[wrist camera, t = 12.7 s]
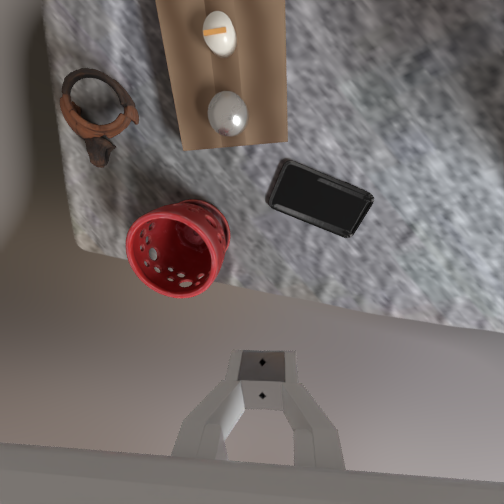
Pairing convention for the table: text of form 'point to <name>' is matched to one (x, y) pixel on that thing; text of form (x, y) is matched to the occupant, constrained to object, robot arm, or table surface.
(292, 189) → the phone
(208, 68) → the mount
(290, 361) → the robot arm
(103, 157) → the brown open round fixture
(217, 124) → the silver knob
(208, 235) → the plant pot
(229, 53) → the dial
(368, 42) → the table surface
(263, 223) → the table surface
